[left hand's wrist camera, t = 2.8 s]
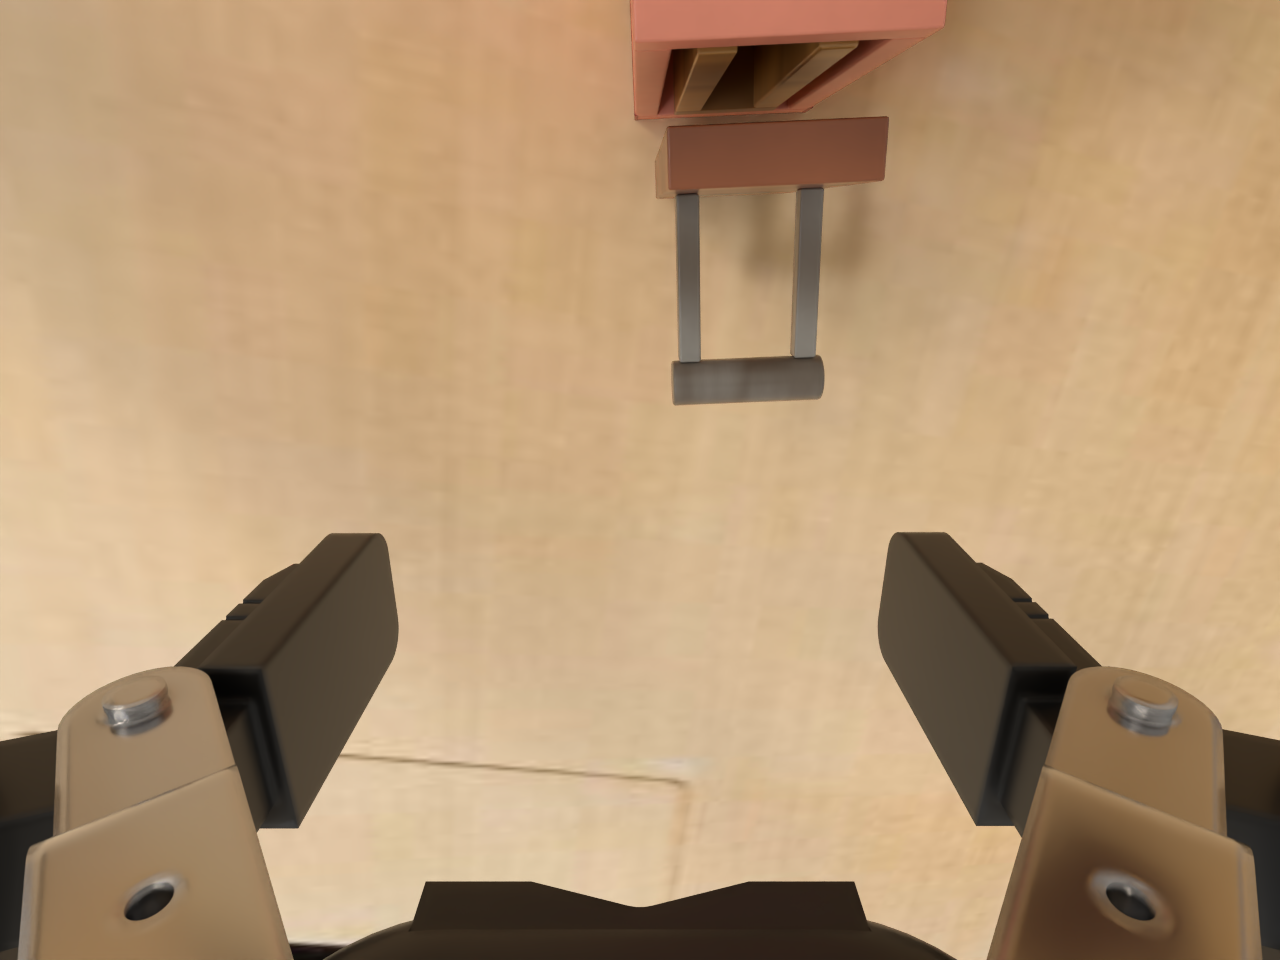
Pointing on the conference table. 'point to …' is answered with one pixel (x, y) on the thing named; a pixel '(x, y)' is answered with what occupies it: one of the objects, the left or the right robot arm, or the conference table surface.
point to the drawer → (757, 166)
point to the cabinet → (771, 40)
